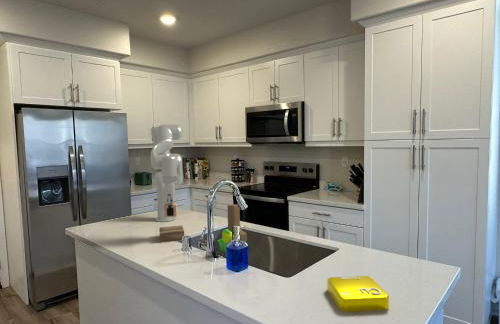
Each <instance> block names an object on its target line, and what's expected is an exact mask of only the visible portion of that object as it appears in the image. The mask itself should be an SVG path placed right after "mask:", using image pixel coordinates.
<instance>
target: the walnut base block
mask: <svg viewBox="0 0 500 324" xmlns="http://www.w3.org/2000/svg"><path fill="white" fill-rule="evenodd" d="M158 230H159V243H160V244H162V242H163V243H171V242H172V241H173V242H180V241H181V240H182V237H183V236H184V237H185V230H184V227H183V225H172V226H162V227H159V229H158ZM182 241H183V240H182Z"/></svg>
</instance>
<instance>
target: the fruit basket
mask: <svg viewBox="0 0 500 324" xmlns="http://www.w3.org/2000/svg"><path fill="white" fill-rule="evenodd" d="M231 240H232V232H230V231H229V230H228V228H225V229H223V230H222V232H221V238H220V239H218V240H217V242H218V245H219V248H220V251H221V252H223V253H225V254H227V253H226V246H227V244H228V243H229V242H230V241H231ZM244 242H245V241H244ZM245 243H246V242H245Z"/></svg>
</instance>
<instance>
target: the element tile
mask: <svg viewBox="0 0 500 324" xmlns="http://www.w3.org/2000/svg"><path fill="white" fill-rule="evenodd" d="M326 282H327V283H326V284H327V285H326V286H327V289H326V290H327V292H328V294H329V295H330V297H331V300H332V301H333V302H334V304H335V305H336V307H337V309H338V311H341V312H345V313H350V312H351V313H352V312H353V313H354V312H373V311H374V312H375V311H376V312H377V311H378V312H379V311H386V310H389V308H390V307H389V306H390V305H389V303H390V302H389V300H390V299H389V293H387V292H386V291H385V290H384V289H383V287H381V285H380V284H378V283H377V282H376V281H375V280H374V279H373V278H372V277H371V276H369V275H358V276H357V275H356V276H355V275H354V276H332V277H328V278H327V281H326Z"/></svg>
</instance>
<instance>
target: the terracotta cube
mask: <svg viewBox="0 0 500 324" xmlns="http://www.w3.org/2000/svg"><path fill="white" fill-rule="evenodd" d="M171 204H172V203H171ZM173 211H174V215H173V216H167V203H166V204H165V205H164V217H175V218H177V217H178V216H177V215H178V204H177V202H174V203H173Z"/></svg>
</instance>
